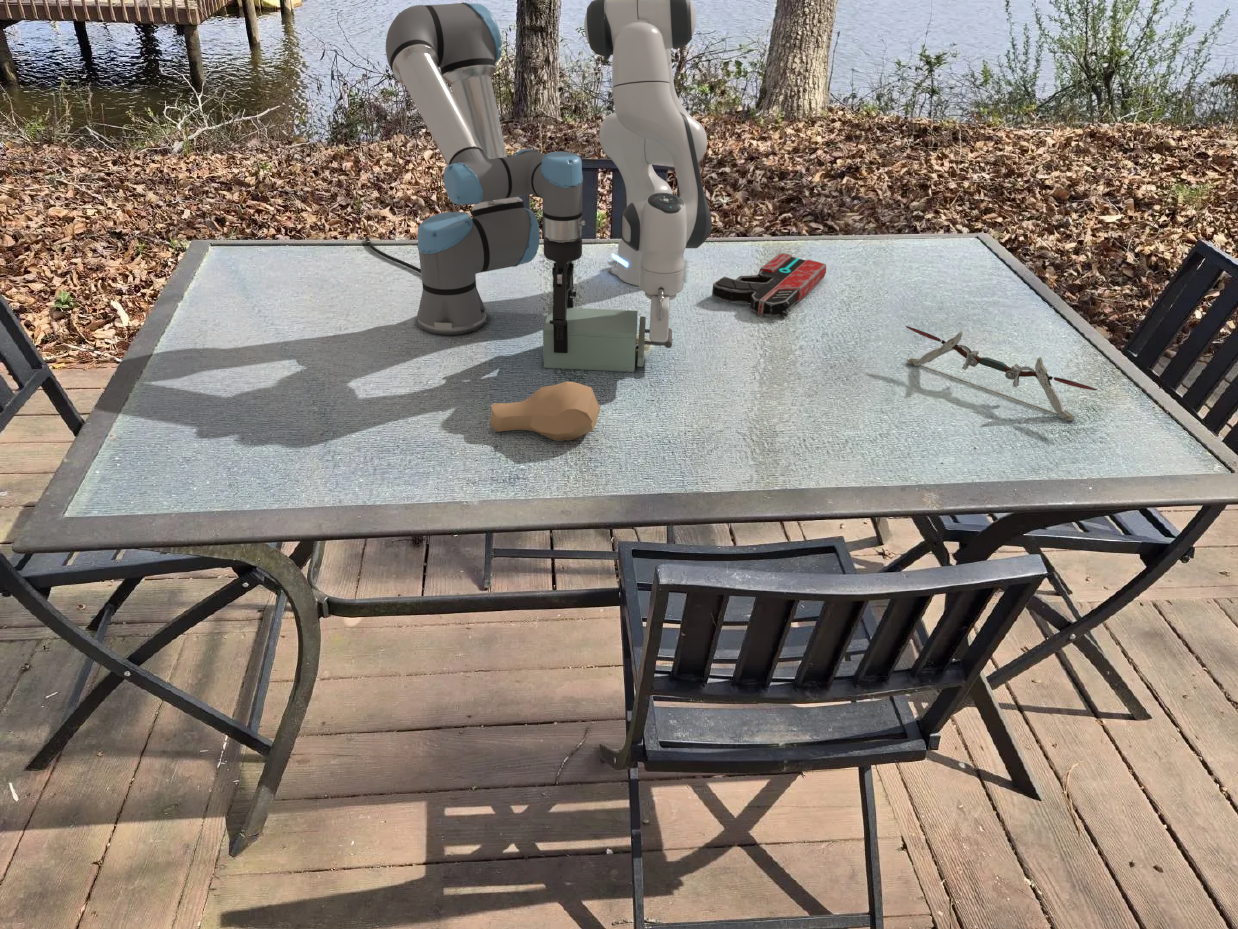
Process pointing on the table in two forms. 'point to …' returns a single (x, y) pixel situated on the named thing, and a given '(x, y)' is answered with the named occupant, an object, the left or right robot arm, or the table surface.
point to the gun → (772, 285)
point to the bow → (1010, 372)
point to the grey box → (594, 340)
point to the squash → (550, 412)
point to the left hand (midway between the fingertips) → (563, 339)
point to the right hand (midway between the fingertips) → (657, 342)
